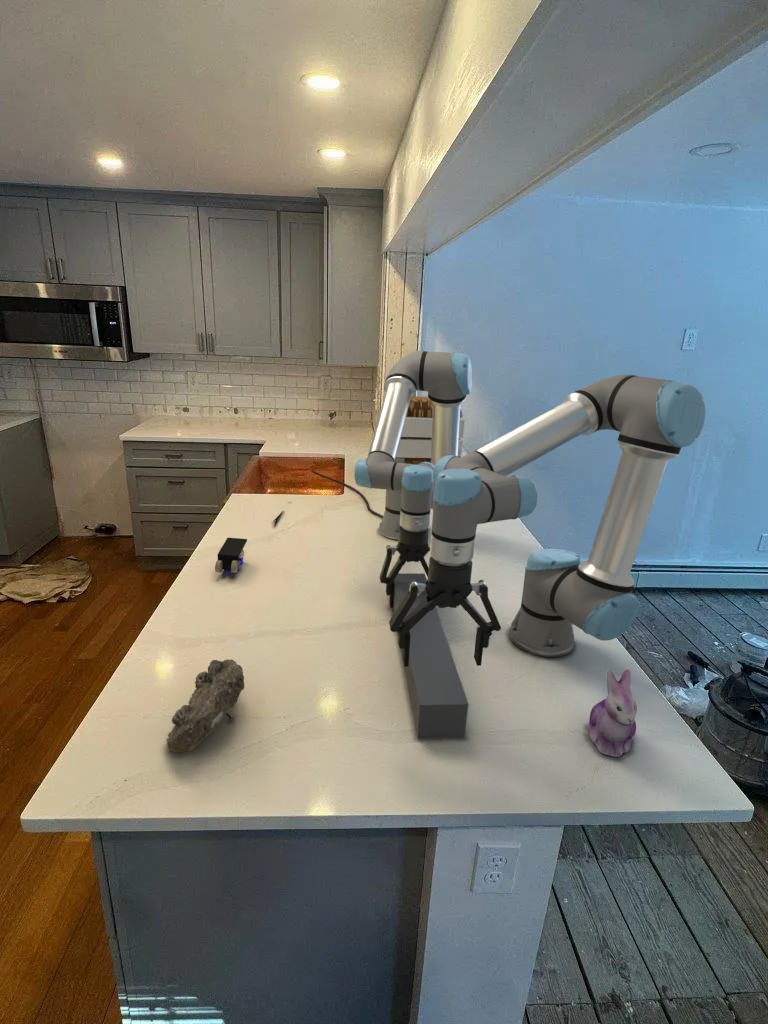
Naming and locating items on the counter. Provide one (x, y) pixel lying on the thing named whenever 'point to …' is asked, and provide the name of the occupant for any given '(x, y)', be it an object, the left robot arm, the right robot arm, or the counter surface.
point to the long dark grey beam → (431, 672)
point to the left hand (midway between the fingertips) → (409, 605)
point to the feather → (277, 518)
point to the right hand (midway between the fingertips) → (441, 661)
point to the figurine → (614, 717)
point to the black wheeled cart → (230, 556)
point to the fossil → (206, 705)
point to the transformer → (420, 433)
